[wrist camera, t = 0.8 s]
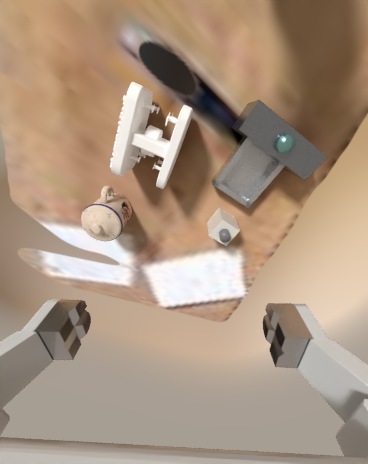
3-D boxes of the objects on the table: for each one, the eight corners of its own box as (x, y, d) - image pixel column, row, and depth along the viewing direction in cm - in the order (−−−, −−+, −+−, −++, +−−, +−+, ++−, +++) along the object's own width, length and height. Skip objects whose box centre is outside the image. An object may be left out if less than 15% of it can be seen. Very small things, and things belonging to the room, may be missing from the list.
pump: (218, 207, 50) (223, 223, 42) (234, 217, 51) (241, 235, 43) (207, 222, 52) (209, 240, 44) (222, 231, 53) (227, 250, 45)
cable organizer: (169, 180, 47) (161, 196, 37) (125, 162, 45) (105, 174, 35) (194, 111, 40) (193, 108, 30) (144, 87, 38) (125, 75, 28)
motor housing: (248, 103, 39) (261, 99, 31) (306, 150, 42) (331, 158, 34) (201, 173, 46) (202, 184, 38) (254, 209, 49) (265, 226, 41)
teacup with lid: (132, 226, 54) (117, 251, 43) (99, 221, 53) (76, 244, 43) (134, 183, 48) (117, 200, 38) (96, 176, 47) (69, 192, 37)
